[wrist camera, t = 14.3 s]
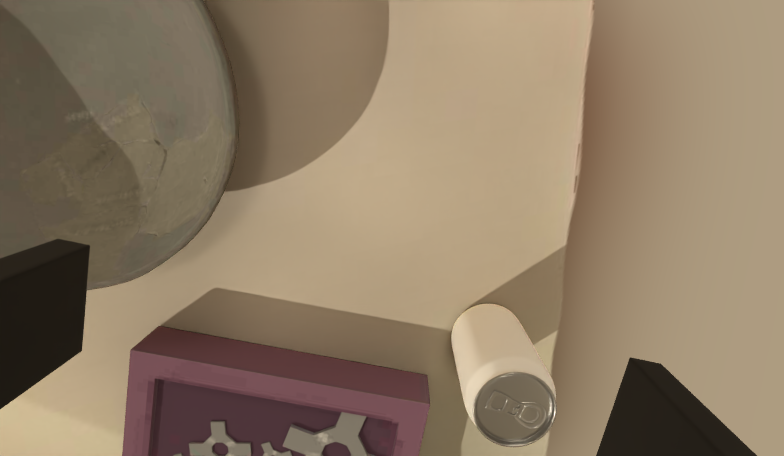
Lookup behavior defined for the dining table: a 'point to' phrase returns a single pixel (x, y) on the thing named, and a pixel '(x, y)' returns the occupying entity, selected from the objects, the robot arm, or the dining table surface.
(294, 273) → the dining table surface
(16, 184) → the bowl
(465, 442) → the dining table surface
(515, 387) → the can
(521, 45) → the dining table surface
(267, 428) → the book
